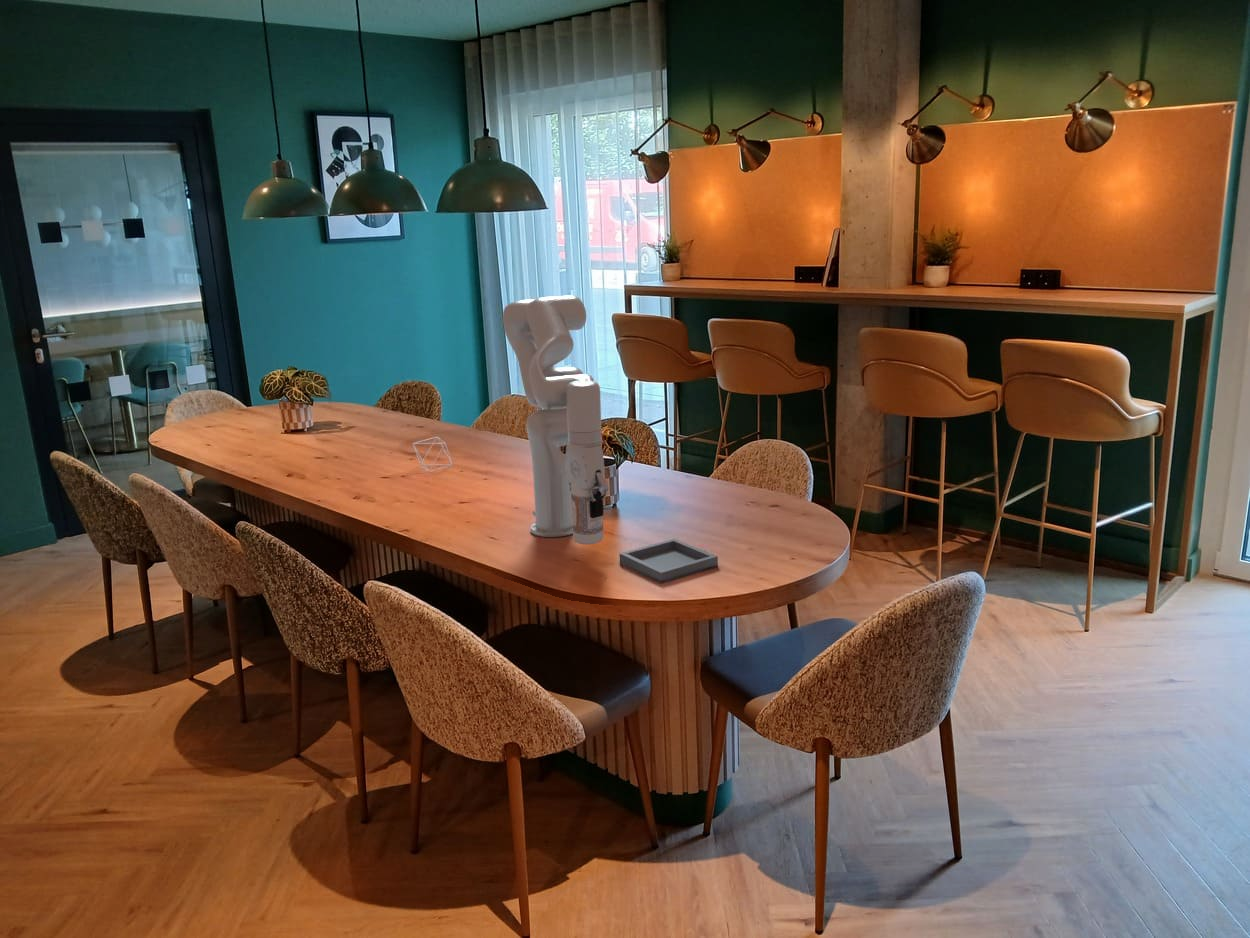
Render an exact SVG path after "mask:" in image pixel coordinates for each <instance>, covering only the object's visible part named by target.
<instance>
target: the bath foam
mask: <svg viewBox="0 0 1250 938" xmlns="http://www.w3.org/2000/svg"><path fill="white" fill-rule="evenodd" d="M595 486H597V484H594V486H593V487H595ZM597 491H598V490H597V489H596V490H594V494H596V493H597ZM571 497H572V522H573V534H572V538H573V541H574V542H575V543H577V544H580V545H594V544H598V543H600V542H602V541H603V539H604V515H603V516H600V517H596V518H591V517H590V501H592V500H591V497H590V493H589V490H583V489H581V488H580V487H578V485H577V484H576V483H574V484H573V485H572V490H571Z"/></svg>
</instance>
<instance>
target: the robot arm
mask: <svg viewBox="0 0 1250 938" xmlns="http://www.w3.org/2000/svg"><path fill="white" fill-rule="evenodd" d="M586 321H587V311H586V306H585V304H584V303H583V300H582V299H580V298H579V297H578V296H576V295H570V294H569V295H556V296H542V297H538V298H533V299H532V298H530V299H527V298H526V299H520V300H516V301H515V300H514V301H513V302H510V303H507V305H506V306H505V308H504V309H503V313H502V322H503V328H504V333H505V336H506V338H507V341H508V343H509V345H510V346H511V349H512V350H513V353H514V354H515V356H516V359H517V362H518V367H519V371H520V376H521V380H522V385H523V390H524V394H525V397H526V400H527V401H528V404H529V405H530V406H532V407H537V408H541V409H538V410H536V411H533V412H532V413H531V414H529V416H528V417H527V419H526V423H525V425H526V432H527V437H528V442H529V447H530V452H531V461H532V462H531V463H532V475H533V479H532V480H533V491H534V492H533V493H534V509H535V510H534V511H532V516H534V517H535V521H534V522H533V523H531V525H530V527H529V528H530V533H532V534H533V535H535V536H539V537H542V538H559V537H561V538H562V537H564V536H565V537H566V536H570V535H573V522H572V497H571V490H572V485H573V484H574V483H576V484H577V485H578V487H580V488H581V489H583V490H589V493H590V497H591V500H592V501H590V517H591V518H596V517H600V516H603V517H604V500H605V496H606V495H607V494H606V493H607V492H608V490H609V486H608V484H607V482H606V473H605V469H606V468H605V459H604V453H603V446H602V442H603V441H602V440H603V438H602V408H601V407H602V405H601V404H602V403H601V387H600V385H599V383H598V382H596V380H595V379H594V377H592V375H590V374H589V373H588V374H587V373H584V372H583V371H582V370H581V369H580V368H578V367H576V366H564V367H556V366H555V365H558V364H559V363H560V362H562V361H564V360H566V359H567V358H568V357H569V355H570V354H571V353H572V351H573V349H574V340H573V338H572V335H571V332H570V331H578V330H582V329H583V328H584V327H585V325H586ZM564 446H566V447H565V453H564V452H563V451H561V449H560V448H561V447H564ZM594 484H597V486H595V487H593V486H594ZM596 489H597V490H598V491H597V493H596V494H594V490H596Z"/></svg>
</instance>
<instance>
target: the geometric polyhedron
mask: <svg viewBox="0 0 1250 938" xmlns="http://www.w3.org/2000/svg"><path fill="white" fill-rule="evenodd" d="M431 439H434V440H433V442H425V441H428V440H431ZM436 440H438V442H436ZM435 444H437V445H438V444H439V445H440V446H441V449H440V451H439V452H438V454H437V455H436V457H435V459H434V461H433V463H432V464H430V463H429V464H428V463H426V464H425V462H424V461H425V459H426V458H427V455H428V454H429V452H430V450H431V448H432V447H433V445H435ZM415 445H431V446H430V447H429V449H428V451H427V453H426V454H425V456H424V458H422V456H421V454H420V453H419V452H418V450H417V448H416V446H415ZM412 447H413V449H414V451H415V454H416V457H417V459H418V462H419V465H420V467H422V468H423V469H424V470H425V471H426V472H428V473H431V472H435V471H437V470H440V469H443V468H446V467H449V466H450V467H451V466H452V465H453V462H452V459H451V455H450V452H449V450H448V446H447V443H446V442H445V441H444V440H442V439H441V438H440V437H439V436H434V437H431V438H427V439H423V440H419V441H416V442H413V443H412ZM444 447H446V449H445V448H444ZM442 450H443V451H444V453H445V455H446V457H447V458H448V459H449V462H450V463H447V464H446V463H444V464H443V463H439V464H437V463H436V464H435V462H436V461H437V459H438V457H439V456H440V454H441V452H442ZM420 460H421V461H420ZM427 466H430V468H429V470H428V468H427ZM433 466H441V467H439V468H436V469H432V468H433ZM431 469H432V470H431Z"/></svg>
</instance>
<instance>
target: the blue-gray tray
mask: <svg viewBox="0 0 1250 938" xmlns="http://www.w3.org/2000/svg"><path fill="white" fill-rule="evenodd" d="M618 556H619V564H620V565H622V566H624V567H626V568H628V569H630V570H632V571H634V572H636V573H638V574H641V575H643V576H645V577H647V578H648V579H651V580H653V581H655V582H657V583H659V584H664V583H667V582H671V581H674V580H678V579H681V578H685V577H688V576H691V575H695V574H698V573H701V572H704V571H708V570H712V569H714V568H718V565H719V563H718V562H719V561H718V559H719V557H718V555H715V554H714V553H713V554H712V552H711V553H710V552H708V551H706V550H703V549H701V548H699V547H696V546H693V545H691V544H688V543H686V542H683V541H682V540H679V539H677V538H672V539H668V540H663V541H660V542H657V543H653V544H649V545H646V546H642V547H639V548H638V547H637V548H635V549H630V550H626V551H623V552H620V553H619V555H618Z"/></svg>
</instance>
